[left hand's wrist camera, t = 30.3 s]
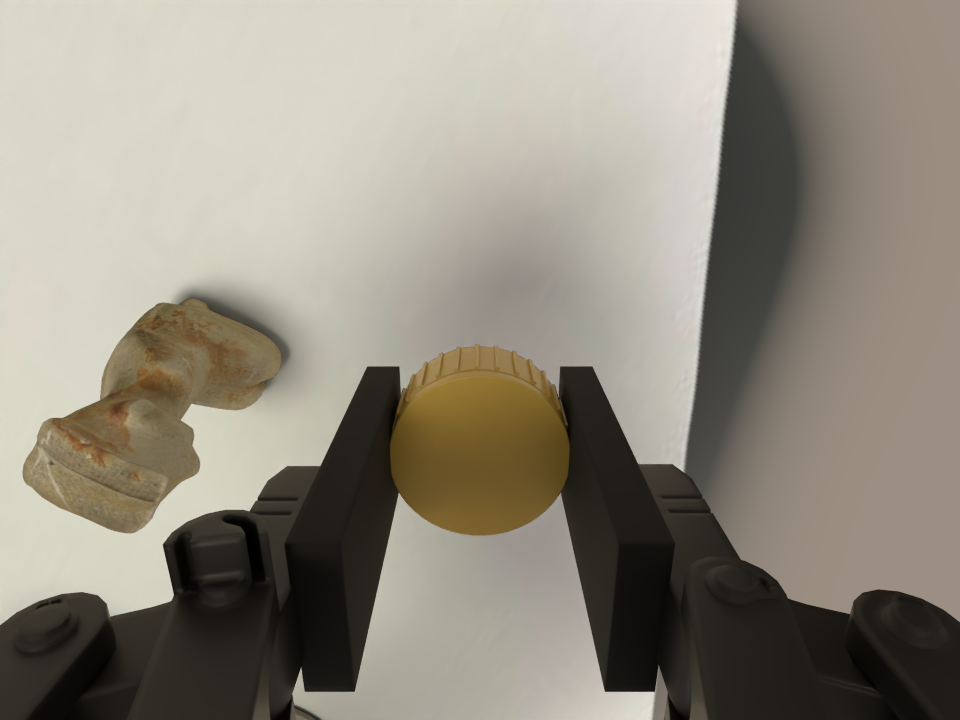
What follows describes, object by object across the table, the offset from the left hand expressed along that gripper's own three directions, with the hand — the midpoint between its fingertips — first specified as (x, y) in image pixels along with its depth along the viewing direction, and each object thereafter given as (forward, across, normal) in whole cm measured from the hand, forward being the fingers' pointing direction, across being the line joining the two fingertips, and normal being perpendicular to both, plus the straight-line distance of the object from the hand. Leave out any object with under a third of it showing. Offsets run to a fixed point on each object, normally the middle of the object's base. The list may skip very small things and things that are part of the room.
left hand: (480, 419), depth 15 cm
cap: (-2, 0, 0) cm, 2 cm away
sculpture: (+21, +15, +5) cm, 27 cm away
